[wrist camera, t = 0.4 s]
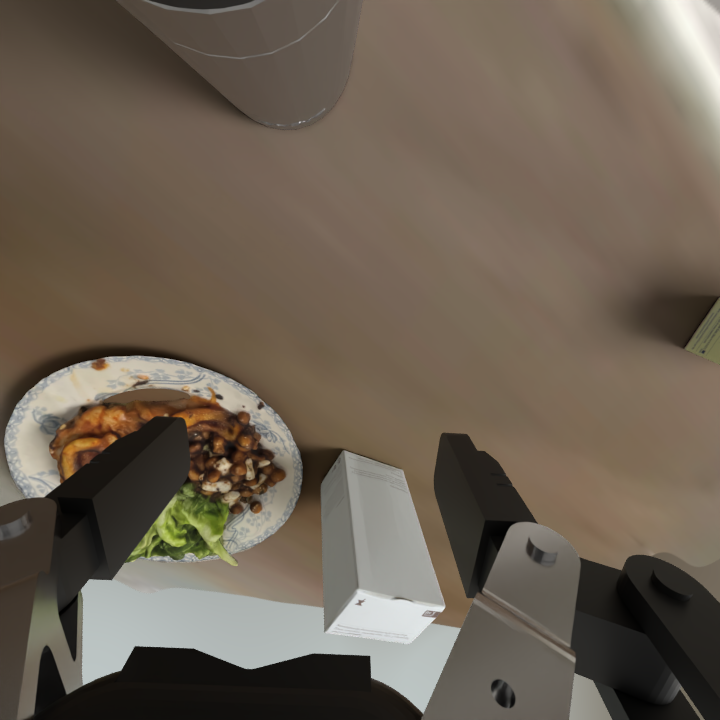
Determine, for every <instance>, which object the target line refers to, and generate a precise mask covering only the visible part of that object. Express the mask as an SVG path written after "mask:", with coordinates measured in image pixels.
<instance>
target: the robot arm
mask: <svg viewBox="0 0 720 720" xmlns="http://www.w3.org/2000/svg"><path fill="white" fill-rule="evenodd" d="M116 1H117V2H118V3H119V4H120V5H122V6H123V7H124V8H125V9H126V10H127V11H128V12H129V13H131V14H132V15H133V16H134V17H135V18H136V19H137V20H139V21H140V22H141V23H143V24H144V25H145V26H146V27H147V28H148V29H149V30H150V31H152V32H153V33H154V34H155V35H156V36H157V37H158V38H159V39H161V40H162V41H163V42H164V43H165V44H166V45H167V46H168V47H170V48H171V49H172V50H173V51H174V52H175V53H176V54H177V55H179V56H180V57H181V58H182V59H183V60H184V61H185V62H186V63H188V64H189V65H190V66H191V67H192V68H193V69H194V70H195V71H196V72H198V73H199V74H200V75H201V76H202V77H203V78H204V79H205V80H207V81H208V82H209V83H210V84H211V85H212V86H213V87H214V88H216V89H217V90H218V91H219V92H220V93H221V94H222V95H223V96H224V97H226V98H227V99H228V100H229V101H230V102H231V103H232V104H233V105H235V106H236V107H237V108H238V109H239V110H240V111H242V112H243V113H244V114H246V115H247V116H248V117H250V118H251V119H252V120H254V121H256V122H258V123H260V124H263V125H265V126H267V127H271V128H275V129H280V130H296V129H300V128H303V127H306V126H310V125H312V124H313V123H315V122H316V121H318V120H320V119H321V118H323V117H324V116H325V115H326V114H327V113H328V112H329V111H330V110H331V109H332V108H333V107H334V105H335V104H336V102H337V101H338V99H339V97H340V96H341V94H342V92H343V90H344V87H345V85H346V82H347V80H348V77H349V72H350V67H351V62H352V57H353V52H354V47H355V42H356V37H357V31H358V25H359V19H360V13H361V8H362V2H363V0H116ZM190 464H191V460H190V451H189V442H188V433H187V425H186V421H185V419H184V418H182V417H167V416H155V417H153V418H152V419H151V420H150V421H148V422H147V423H146V424H145V425H144V426H142V427H141V428H140V429H139V430H138V431H134V432H132V433H130V434H128V435H126V436H124V437H121V438H119V439H117V440H115V441H114V442H113V443H112V444H110V445H109V446H108V447H107V448H105V449H104V450H103V451H102V453H101V454H98V455H97V456H95V457H94V458H93V459H92V460H90V463H89V464H88V463H86V464H85V465H84V466H83V467H81V468H80V469H79V470H78V471H76V472H75V473H74V474H73V475H71V476H70V477H69V478H68V479H66V480H65V481H64V482H63V483H61V484H60V485H59V486H57V487H56V488H55V489H54V490H52V491H51V492H50V493H49V494H47V495H46V496H45V497H35V498H27V499H22V500H18V501H15V502H12V503H9V504H6V505H3V506H1V507H0V720H569V715H570V706H571V698H572V689H573V680H574V673H576V674H578V675H581V676H584V677H586V678H589V679H591V680H593V681H594V683H595V685H596V687H597V689H598V691H599V693H600V695H601V697H602V699H603V701H604V703H605V705H606V707H607V710H608V712H609V714H610V716H611V718H612V720H700V718H699V717H698V716H697V714H696V713H695V711H694V710H693V708H692V707H691V705H690V704H689V702H688V701H687V699H686V698H685V696H684V695H683V693H682V692H681V690H680V688H681V686H682V687H683V688H684V690H685V692H686V693H687V694H688V696H689V697H690V699H691V700H692V701H693V703H694V705H695V706H696V707H697V709H698V710H699V712H700V713H701V715H702V716H703V718H704V719H705V720H720V603H719V602H718V601H717V600H716V599H715V598H714V597H713V596H712V595H711V594H710V593H709V591H708V590H707V589H706V588H704V587H703V586H702V585H701V584H700V583H699V582H698V581H696V580H695V579H694V578H693V577H691V576H690V575H688V574H687V573H686V572H684V571H682V570H681V569H679V568H677V567H676V566H674V565H672V564H670V563H668V562H665V561H663V560H661V559H658V558H654V557H651V556H646V555H633V556H631V557H629V558H628V559H627V560H626V562H625V564H624V567H623V569H622V571H621V570H618V569H615V568H612V567H608V566H605V565H602V564H599V563H595V562H592V561H589V560H586V559H583V558H580V557H579V556H578V554H577V552H576V550H575V549H574V548H573V546H572V545H571V544H570V543H569V542H568V541H567V540H566V539H565V538H563V537H562V536H561V535H560V534H558V533H556V532H555V531H553V530H551V529H549V528H548V527H545V526H543V525H540V524H538V523H537V522H536V520H535V519H534V517H533V515H532V514H531V512H530V511H529V509H528V508H527V506H526V505H525V503H524V501H523V500H522V498H521V497H520V495H519V494H518V492H517V491H516V489H515V488H514V487H513V486H512V483H511V481H510V480H509V478H508V477H507V476H506V474H505V472H504V471H503V469H502V467H501V466H500V464H499V463H498V462H497V461H496V460H495V459H494V458H492V457H491V456H490V455H489V454H487V453H486V452H485V451H477V450H476V448H475V446H474V444H473V443H472V441H471V439H470V437H469V436H468V435H467V434H457V433H442V435H441V437H440V442H439V448H438V454H437V460H436V466H435V473H434V491H435V496H436V499H437V502H438V505H439V509H440V512H441V515H442V518H443V522H444V525H445V528H446V532H447V535H448V538H449V541H450V545H451V548H452V551H453V554H454V558H455V561H456V564H457V567H458V571H459V574H460V577H461V580H462V584H463V587H464V590H465V593H466V597H467V598H474V600H473V603H472V605H471V607H470V609H469V612H468V614H467V616H466V618H465V621H464V623H463V625H462V628H461V630H460V632H459V634H458V637H457V639H456V641H455V643H454V646H453V648H452V650H451V653H450V655H449V657H448V659H447V662H446V664H445V666H444V668H443V671H442V673H441V675H440V678H439V680H438V682H437V684H436V687H435V689H434V691H433V694H432V696H431V698H430V700H429V703H428V705H427V707H426V710H425V712H424V714H423V713H422V712H421V711H420V710H419V709H418V708H417V707H416V706H414V705H413V704H412V703H411V702H410V701H409V700H408V699H407V698H405V697H404V696H403V695H401V694H400V693H399V692H397V691H396V690H394V689H393V688H391V687H389V686H387V685H386V684H384V683H382V682H380V681H377V680H374V679H372V678H371V666H370V656H359V655H335V654H310V655H306V656H302V657H298V658H294V659H291V660H287V661H283V662H279V663H275V664H272V665H268V666H264V667H260V668H256V669H244V668H241V667H239V666H236V665H234V664H231V663H229V662H226V661H223V660H221V659H218V658H216V657H213V656H211V655H208V654H205V653H203V652H200V651H198V650H196V649H187V648H164V647H139V646H135V647H134V649H133V651H132V653H131V655H130V656H129V658H128V660H127V662H126V663H125V665H124V667H123V669H122V670H121V671H119V672H115V673H112V674H109V675H106V676H104V677H101V678H98V679H96V680H94V681H92V682H90V683H88V684H86V685H83V683H82V623H83V622H82V620H83V597H82V593H81V589H82V587H83V586H84V585H85V584H86V583H87V581H88V580H89V579H97V580H112V579H113V578H114V576H115V575H116V574H117V572H118V571H119V569H120V568H121V567H122V565H123V564H124V563H125V561H126V560H127V559H128V557H129V556H130V555H131V553H132V552H133V551H134V549H135V548H136V547H137V545H138V544H139V543H140V541H141V540H142V539H143V537H144V536H145V535H146V533H147V532H148V530H149V529H150V528H151V526H152V525H153V524H154V522H155V521H156V520H157V518H158V517H159V516H160V514H161V513H162V512H163V510H164V509H165V508H166V506H167V505H168V504H169V502H170V501H171V500H172V498H173V497H174V496H175V494H176V493H177V492H178V490H179V489H180V487H181V486H182V485H183V483H184V482H185V481H186V479H187V477H188V474H189V470H190Z"/></svg>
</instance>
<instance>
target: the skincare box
mask: <svg viewBox="0 0 720 720" xmlns="http://www.w3.org/2000/svg"><path fill="white" fill-rule="evenodd" d="M321 518H322V557H323V594H324V632H325V633H329V634H337V635H346V636H355V637H362V638H369V639H377V640H384V641H391V642H397V643H403V644H410V643H411V642H412V641H413V640H414V639H415V638H416V637H417V636H418V635H419V634H420V633H421V632H422V631H423V630H424V629H425V628H426V627H427V626H428V625H429V624H430V623H431V622H432V621H433V620H434V619H435V618H436V617H437V616H438V615H439V614H440V613H441V612H442V611H443V610H444V608H445V603H444V600H443V597H442V594H441V591H440V587H439V584H438V581H437V578H436V575H435V572H434V568H433V565H432V562H431V559H430V556H429V553H428V549H427V546H426V543H425V540H424V536H423V533H422V530H421V527H420V524H419V521H418V517H417V514H416V511H415V508H414V505H413V501H412V498H411V495H410V492H409V489H408V485H407V482H406V479H405V476H404V473H403V470H401V469H398V468H395V467H392V466H389V465H386V464H383V463H380V462H378V461H375V460H372V459H369V458H366V457H363V456H360V455H357V454H354V453H351V452H348V451H345V450H343V451H342V453H341V454H340V455H339V457H338V459H337V460H336V462H335V463H334V465H333V466H332V468H331V469H330V470H329V472H328V473H327V475H326V476H325V478H324V479H323V481H322V484H321Z"/></svg>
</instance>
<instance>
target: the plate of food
mask: <svg viewBox="0 0 720 720" xmlns="http://www.w3.org/2000/svg"><path fill="white" fill-rule="evenodd" d="M145 388H164V389H172V390H177V391H182V392H186V393H188V394H189V395H190V397H191V398H190V399H185V398H182V399H179V400H176V401H158V402H156V401H139V400H135V401H132V402H130V403H126V404H121V403H108V404H105V403H104V402H103V401H104V400H105V399H106V398H108V397H110V396H113V395H116V394H119V393H122V392H125V391H131V390H137V389H145ZM155 416H167V417H182V418H184V419H185V421H186V425H187V433H188V442H189V451H190V460H191V464H190V470H189V474H188V477H187V479H186V481H185V482H184V483H183V485H182V486H181V487H180V489H179V490H178V492H177V493H176V494H175V496H174V497H173V498H172V500H171V501H170V502H169V504H168V505H167V506H166V508H165V509H164V510H163V512H162V513H161V514H160V516H159V517H158V518H157V520H156V521H155V522H154V524H153V525H152V526H151V528H150V529H149V530H148V532H147V533H146V535H145V536H144V537H143V539H142V540H141V541H140V543H139V544H138V545H137V547H136V548H135V549H134V551H133V552H132V553H131V555H130V556H129V557H128V559H127V560H126V561H125V563H126V562H133V561H135V560H136V559H143V560H149V561H159V562H169V563H187V562H202V561H209V560H215V559H220V558H221V559H223V560H224V561H226V562H227V563H229V564H230V565H233V566H237V565H238V562H237V561H236V560H235V559H234V558H233V557H232V556H230V555H232V554H234V553H238V552H243V551H246V550H248V549H250V548H252V547H254V546H255V545H257V544H259V543H260V542H262V541H264V540H265V539H267V538H268V537H270V536H271V535H272V534H274V533H275V532H276V531H277V530H278V529H279V528H280V527H281V526H282V525H283V524H284V523H285V522H286V520H287V519H288V518H289V516H290V515H291V513H292V511H293V510H294V508H295V506H296V504H297V501H298V498H299V495H300V492H301V487H302V477H303V466H302V461H301V455H300V451H299V449H298V448H297V446H296V444H295V442H294V439H293V437H292V435H291V433H290V431H289V429H288V428H287V426H286V424H285V423H284V422H283V420H282V419H281V418H280V417H279V415H278V414H277V413H276V412H275V411H274V410H273V409H272V408H271V407H270V406H269V405H267V404H266V403H265V402H263V401H262V400H261V399H260V398H259V397H258V396H257V395H256V394H255V393H254V392H253V391H251V390H250V389H248V388H247V387H245V386H243V385H241V384H239V383H237V382H236V381H234V380H232V379H230V378H228V377H226V376H223V375H221V374H219V373H216V372H214V371H211V370H208V369H205V368H202V367H199V366H196V365H194V364H191V363H187V362H183V361H178V360H173V359H167V358H159V357H149V356H124V357H118V356H115V357H105V358H101V359H96V360H92V361H85V362H81V363H78V364H75V365H72V366H69V367H66V368H64V369H61V370H59V371H57V372H55V373H53V374H51V375H49V376H48V377H46V378H44V379H42V380H41V381H40V382H39V383H38V384H36V385H35V386H34V387H33V388H32V389H30V390H29V391H28V392H27V393H26V394H25V395H24V397H23V398H22V399H21V400H20V401H19V402H18V404H17V405H16V407H15V409H14V412H13V413H12V415H11V418H10V420H9V423H8V425H7V428H6V430H5V434H6V435H5V438H4V445H5V453H6V458H7V462H8V465H9V468H10V474H11V476H12V478H13V479H14V482H15V484H16V486H17V487H18V488H19V489H20V490H21V491H22V493H23V494H24V496H25V497H26V498H35V497H45V496H46V495H47V494H49V493H50V492H51V491H52V490H54V489H55V488H56V487H57V486H59V485H60V484H61V483H63V482H64V481H65V480H66V479H68V478H69V477H70V476H71V475H73V474H74V473H75V472H76V471H78V470H79V469H80V468H81V467H83V466H84V465H85V464H86V463H88V464H89V463H90V460H92V459H93V458H94V457H95V456H97V455H98V454H101V453H102V451H103V450H104V449H105V448H107V447H108V446H109V445H110V444H112V443H113V442H114V441H115V440H117V439H119V438H121V437H124V436H126V435H128V434H130V433H132V432H134V431H138V430H139V429H140V428H141V427H142V426H144V425H145V424H146V423H147V422H148V421H150V420H151V419H152V418H153V417H155ZM241 497H247V503H246V504H244V503H242V502H241V501H240V498H241ZM229 509H230V511H231V513H232V514H229ZM228 514H229V515H228Z"/></svg>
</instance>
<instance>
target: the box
mask: <svg viewBox="0 0 720 720" xmlns="http://www.w3.org/2000/svg"><path fill="white" fill-rule="evenodd" d="M684 349H685V350H687V351H689V352H692V353H694V354H696V355H699V356H701V357H703V358H706V359H708V360H710V361H712V362H715V363H717V364H719V365H720V297H719V298H718V300H717V301H716V303H715V304H714V305H713V307H712V308H711V310H710V311H709V313H708V314H707V316H706V317H705V319H704V320H703V321H702V323H701V324H700V326H699V327H698V329H697V330H696V332H695V333H694V335H693V336H692V338H691V339H690V341H689V342H688V344H687V345H686V347H685V348H684Z"/></svg>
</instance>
